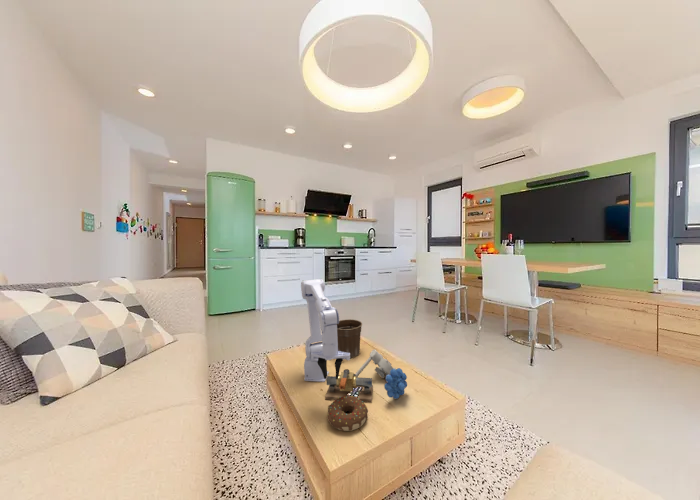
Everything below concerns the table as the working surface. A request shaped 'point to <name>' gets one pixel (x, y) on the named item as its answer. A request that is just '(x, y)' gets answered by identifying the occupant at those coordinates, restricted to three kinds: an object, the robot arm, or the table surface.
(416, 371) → the table surface
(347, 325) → the plant pot
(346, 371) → the valve lever
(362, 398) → the walnut board
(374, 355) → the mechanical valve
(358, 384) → the pipe and valve body
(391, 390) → the grapes
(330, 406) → the donut
